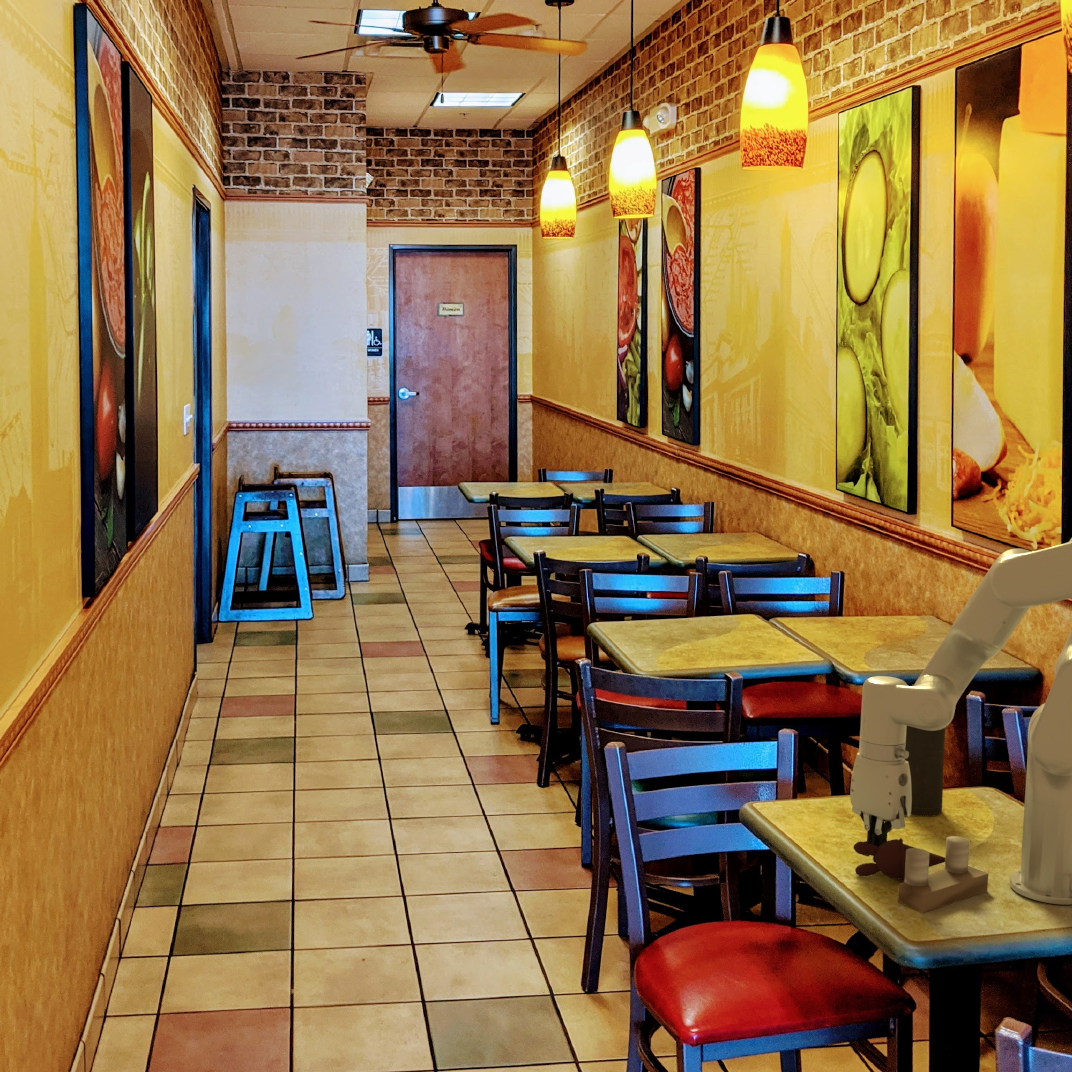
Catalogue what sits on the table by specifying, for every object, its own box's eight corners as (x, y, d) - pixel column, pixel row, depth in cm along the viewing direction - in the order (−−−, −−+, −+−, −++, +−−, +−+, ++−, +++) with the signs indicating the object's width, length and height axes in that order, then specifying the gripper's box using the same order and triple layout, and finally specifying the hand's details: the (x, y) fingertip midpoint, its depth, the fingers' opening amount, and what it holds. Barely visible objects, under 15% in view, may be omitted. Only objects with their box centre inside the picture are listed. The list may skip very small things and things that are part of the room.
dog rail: (987, 890, 213) (990, 844, 212) (923, 912, 204) (925, 863, 203) (957, 879, 218) (960, 833, 217) (893, 900, 209) (896, 852, 208)
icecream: (943, 835, 221) (852, 836, 224) (947, 840, 213) (853, 840, 216) (945, 878, 220) (854, 877, 223) (950, 883, 212) (855, 883, 215)
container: (919, 799, 259) (924, 701, 256) (953, 813, 251) (959, 712, 249) (886, 806, 255) (891, 706, 252) (921, 820, 247) (926, 717, 244)
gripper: (932, 758, 217) (925, 863, 219) (863, 736, 229) (858, 836, 231) (901, 764, 213) (895, 872, 215) (833, 742, 225) (828, 844, 227)
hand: (876, 853), depth 223 cm, fingers closed
